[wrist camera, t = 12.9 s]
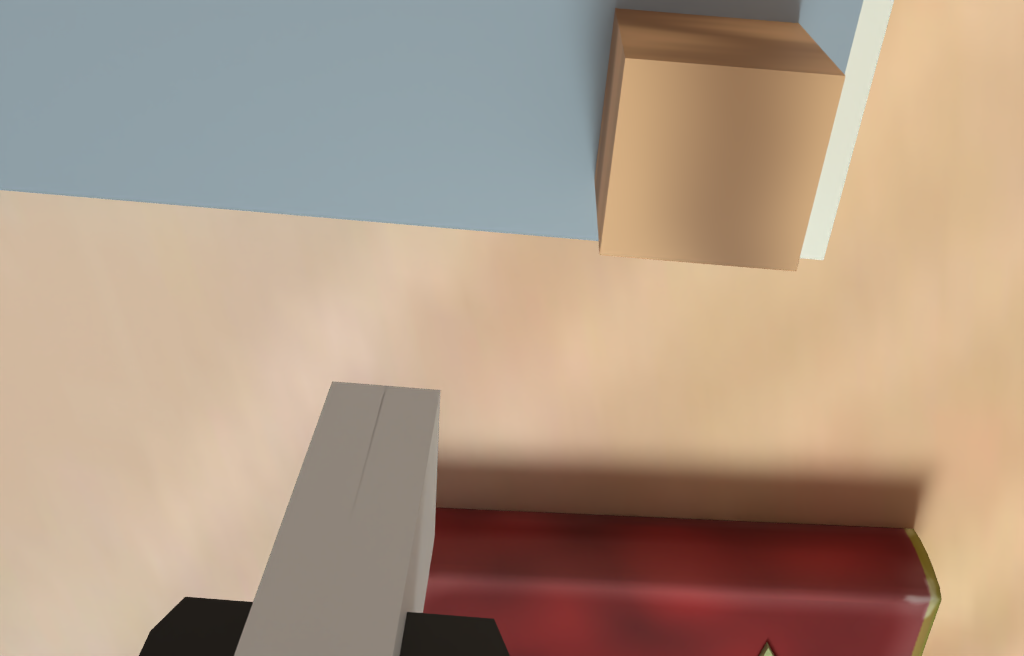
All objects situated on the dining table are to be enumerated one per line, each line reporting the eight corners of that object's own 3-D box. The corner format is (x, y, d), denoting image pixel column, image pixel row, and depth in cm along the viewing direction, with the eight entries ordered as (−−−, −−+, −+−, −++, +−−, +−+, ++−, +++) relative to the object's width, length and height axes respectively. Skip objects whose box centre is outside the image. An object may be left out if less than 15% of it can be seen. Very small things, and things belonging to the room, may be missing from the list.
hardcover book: (395, 494, 39) (378, 569, 35) (911, 518, 38) (946, 597, 35) (407, 686, 45) (394, 766, 42) (851, 709, 44) (876, 793, 41)
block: (594, 179, 28) (599, 255, 24) (615, 7, 26) (625, 58, 21) (761, 193, 28) (796, 271, 24) (798, 23, 26) (845, 76, 21)
